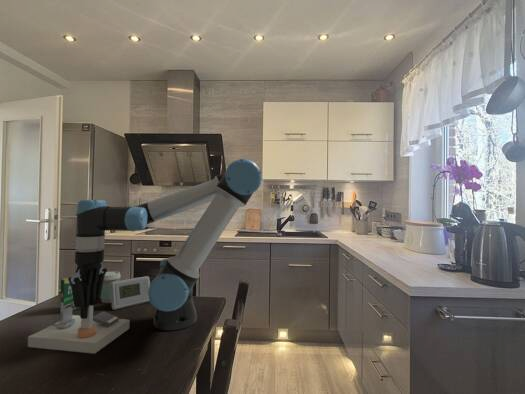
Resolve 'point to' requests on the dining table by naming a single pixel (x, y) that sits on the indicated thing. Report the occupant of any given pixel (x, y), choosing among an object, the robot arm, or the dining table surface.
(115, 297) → the digital clock
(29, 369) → the dining table surface
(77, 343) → the panel
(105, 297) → the coffee cup
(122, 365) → the dining table surface
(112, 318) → the grey flat block
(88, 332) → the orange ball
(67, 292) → the coffee box
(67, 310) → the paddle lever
